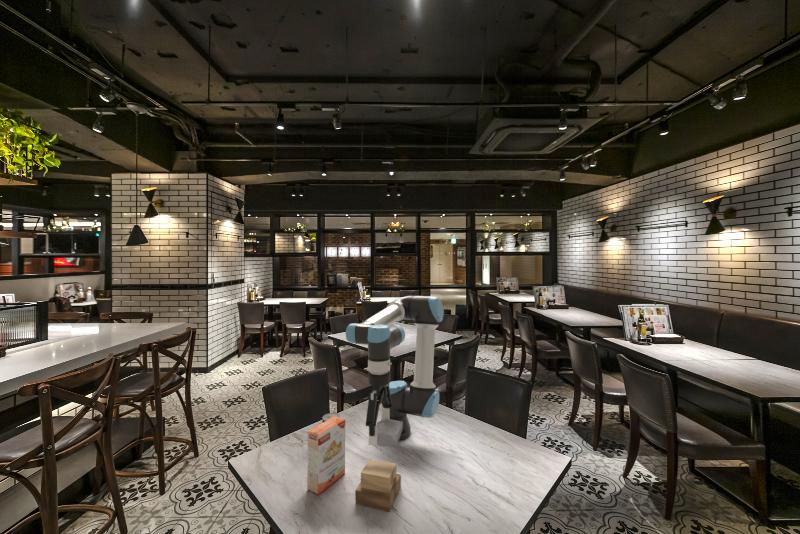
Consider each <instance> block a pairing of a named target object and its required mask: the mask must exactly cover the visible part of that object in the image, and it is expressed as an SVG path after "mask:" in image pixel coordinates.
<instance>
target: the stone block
mask: <svg viewBox="0 0 800 534" xmlns="http://www.w3.org/2000/svg"><path fill="white" fill-rule="evenodd" d="M376 424H377V443H378V445H377V446H378V447H394V448H395V447H397V446H398V443H399V441H400V440H399V438H400V435H401V433H402V430H403V422H402V421H401V422H400V421H396V420H388V419H387V420H382V421H381V420H380V421H378V422H376Z"/></svg>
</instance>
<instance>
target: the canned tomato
mask: <svg viewBox="0 0 800 534" xmlns="http://www.w3.org/2000/svg"><path fill="white" fill-rule="evenodd" d="M334 416H336V417H338V418H341V415H340V413H336V412H329V413H328V412H327V413H326V414H323V416H322V417H321V418H322V423H323V422H325V421H327V420H329V419H330V418H332V417H334Z"/></svg>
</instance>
